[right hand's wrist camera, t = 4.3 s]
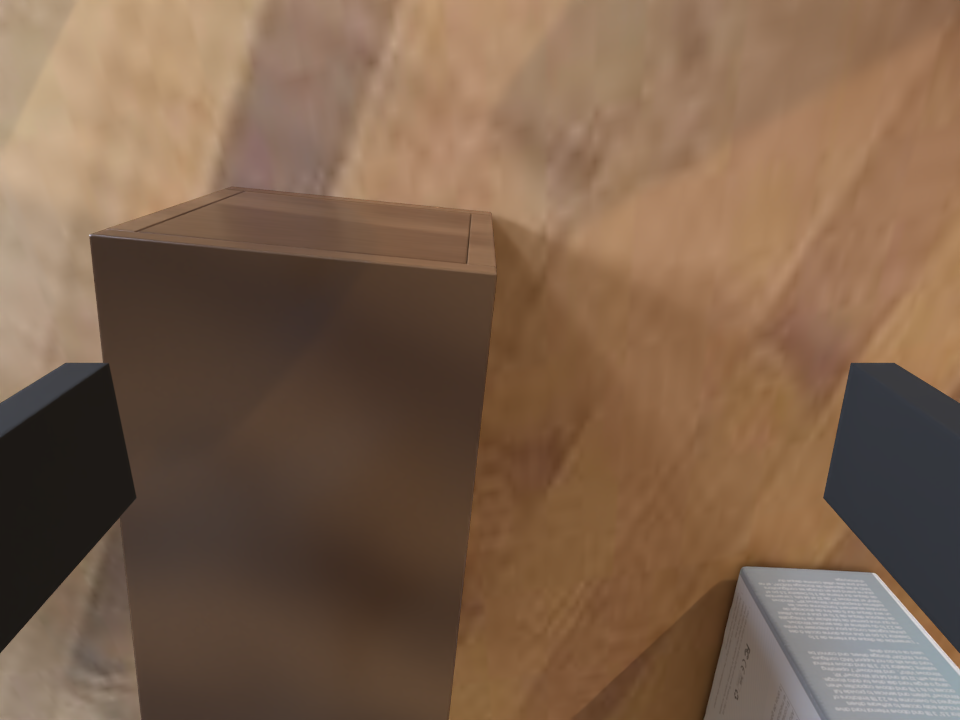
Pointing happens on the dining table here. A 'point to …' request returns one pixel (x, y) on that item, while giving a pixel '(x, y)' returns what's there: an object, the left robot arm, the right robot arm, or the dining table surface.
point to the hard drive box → (827, 652)
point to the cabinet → (297, 449)
